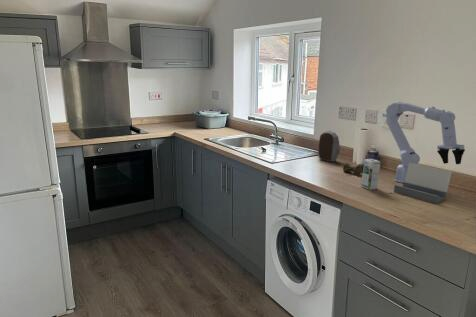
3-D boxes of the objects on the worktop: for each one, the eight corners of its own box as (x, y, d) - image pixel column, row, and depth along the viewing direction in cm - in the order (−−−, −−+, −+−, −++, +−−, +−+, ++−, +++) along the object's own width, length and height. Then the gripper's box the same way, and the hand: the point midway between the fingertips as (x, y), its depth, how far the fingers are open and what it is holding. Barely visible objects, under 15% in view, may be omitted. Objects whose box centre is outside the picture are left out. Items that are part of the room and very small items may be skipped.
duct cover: (408, 162, 182) (409, 162, 183) (404, 181, 184) (405, 181, 184) (451, 171, 167) (452, 171, 168) (446, 192, 169) (447, 192, 169)
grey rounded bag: (315, 159, 243) (317, 129, 238) (322, 157, 248) (325, 128, 244) (334, 163, 232) (336, 132, 227) (341, 161, 237) (344, 131, 232)
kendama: (372, 172, 215) (351, 176, 203) (358, 169, 222) (337, 173, 210) (373, 163, 213) (352, 166, 202) (359, 160, 221) (338, 163, 209)
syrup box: (360, 186, 186) (363, 159, 182) (369, 185, 188) (372, 158, 184) (368, 190, 180) (371, 161, 177) (377, 188, 183) (381, 160, 179)
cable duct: (393, 191, 178) (394, 185, 178) (403, 188, 184) (404, 181, 184) (436, 203, 163) (437, 196, 162) (445, 199, 169) (446, 192, 169)
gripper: (468, 134, 171) (471, 163, 172) (444, 135, 185) (447, 161, 186) (456, 136, 170) (459, 165, 170) (432, 137, 184) (435, 164, 185)
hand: (452, 163), depth 178 cm, fingers open, 7 cm apart
